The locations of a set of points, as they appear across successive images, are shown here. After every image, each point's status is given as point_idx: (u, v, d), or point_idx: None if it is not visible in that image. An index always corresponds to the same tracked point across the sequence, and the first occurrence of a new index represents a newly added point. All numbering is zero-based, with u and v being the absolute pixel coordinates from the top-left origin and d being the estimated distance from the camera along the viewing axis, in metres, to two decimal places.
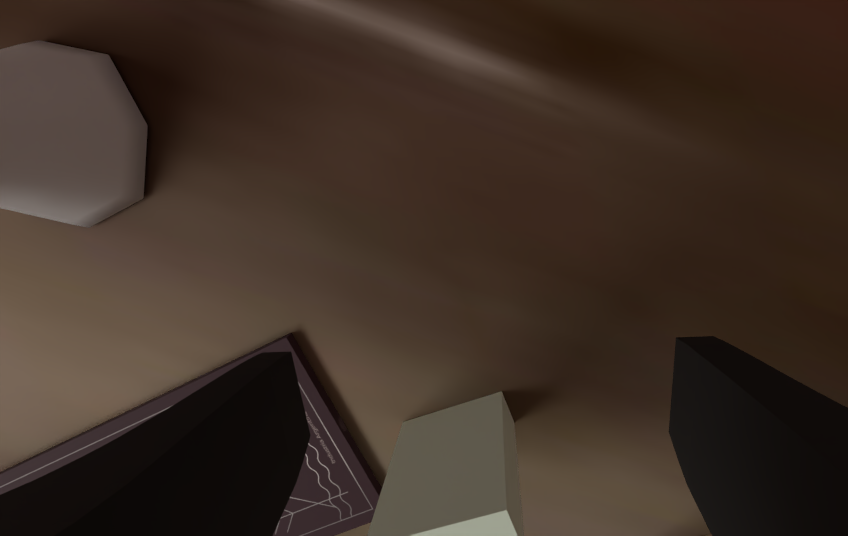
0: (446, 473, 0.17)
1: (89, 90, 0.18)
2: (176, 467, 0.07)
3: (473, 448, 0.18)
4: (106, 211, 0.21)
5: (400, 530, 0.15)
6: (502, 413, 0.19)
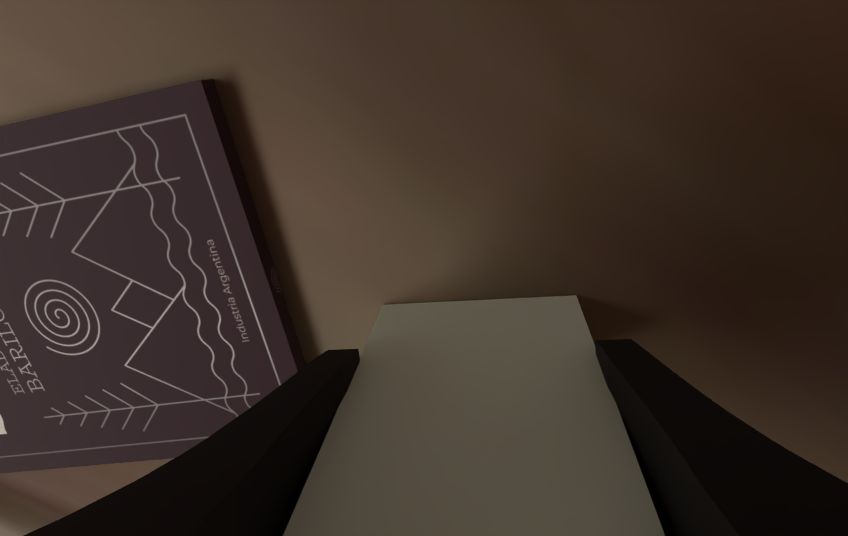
0: (484, 432, 0.08)
1: None
2: (273, 467, 0.06)
3: (540, 391, 0.08)
4: None
5: None
6: (589, 334, 0.10)
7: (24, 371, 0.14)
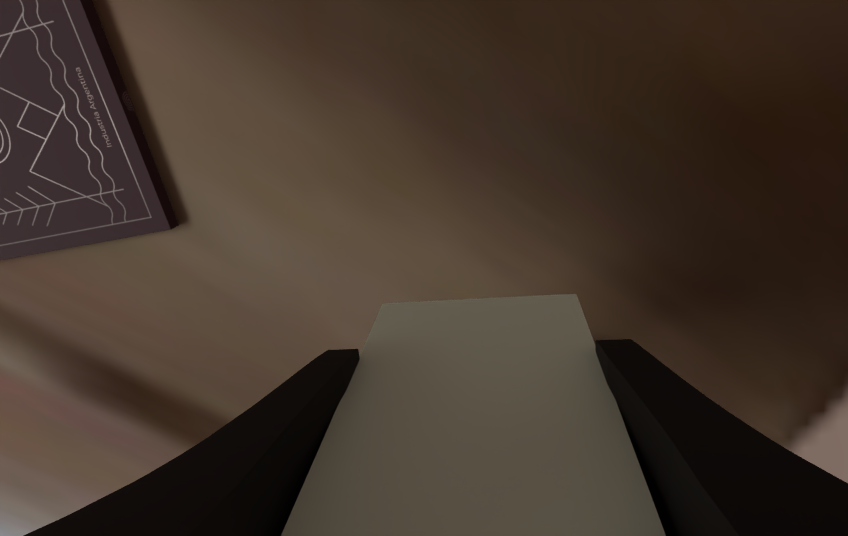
0: (484, 430, 0.08)
1: None
2: (273, 467, 0.06)
3: (540, 389, 0.08)
4: None
5: None
6: (589, 332, 0.10)
7: None
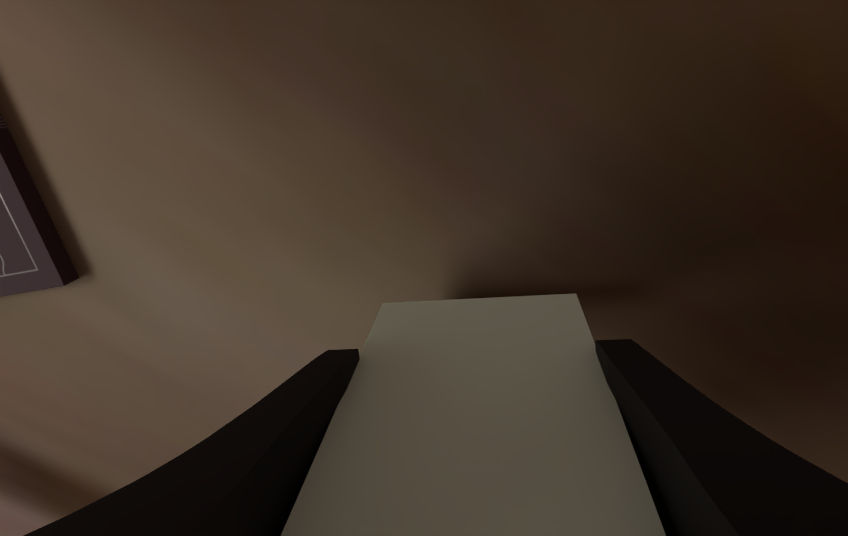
0: (484, 430, 0.08)
1: None
2: (273, 467, 0.06)
3: (540, 388, 0.08)
4: None
5: None
6: (589, 332, 0.10)
7: None
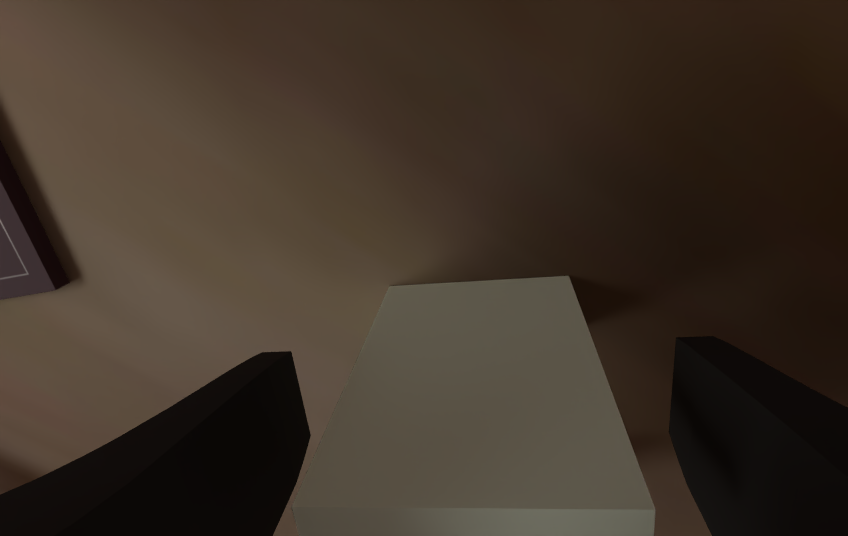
0: (483, 389, 0.08)
1: None
2: (176, 467, 0.07)
3: (534, 354, 0.09)
4: None
5: (383, 487, 0.07)
6: (579, 308, 0.11)
7: None
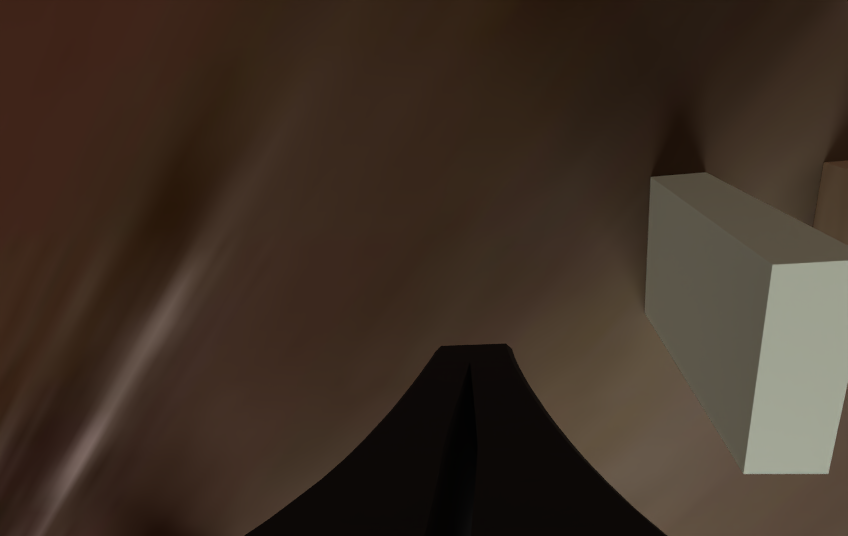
0: (705, 307, 0.12)
1: None
2: (445, 467, 0.06)
3: (692, 254, 0.12)
4: None
5: (742, 415, 0.10)
6: (671, 190, 0.13)
7: None
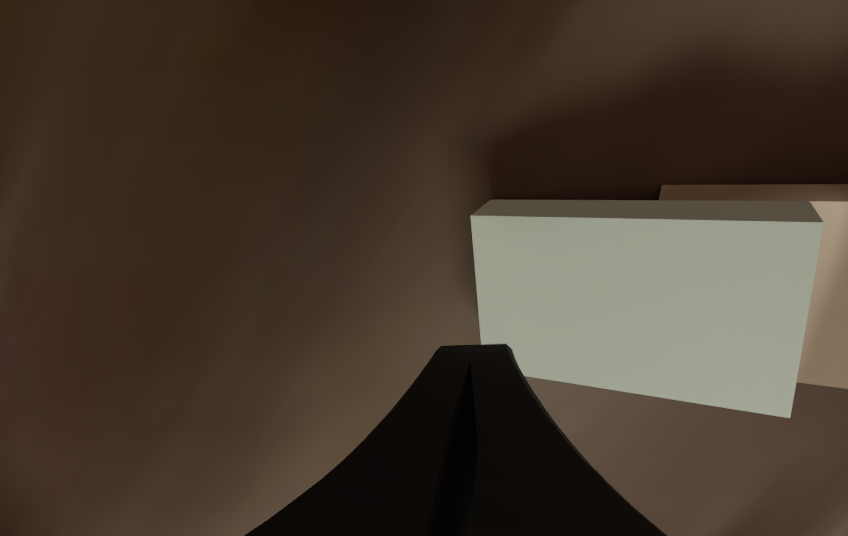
0: (669, 306, 0.11)
1: None
2: (445, 467, 0.06)
3: (623, 265, 0.11)
4: None
5: (779, 370, 0.11)
6: (540, 216, 0.12)
7: None
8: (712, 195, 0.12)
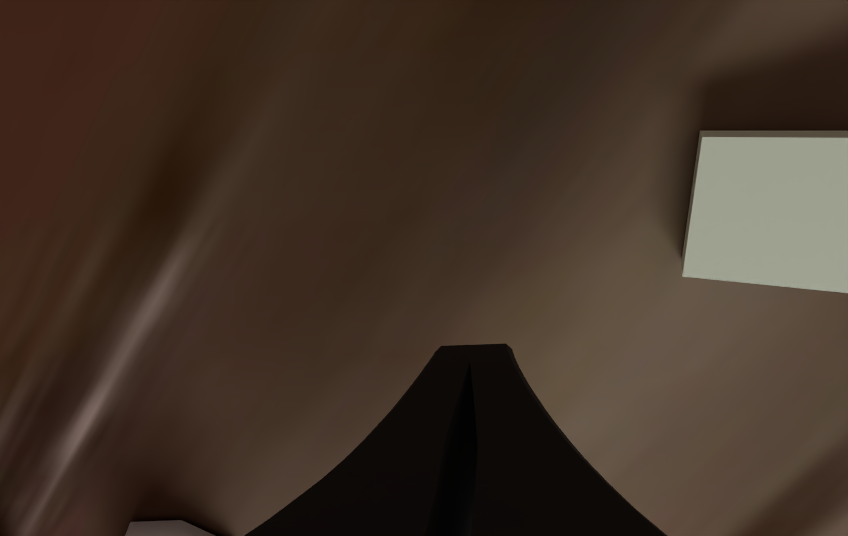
0: None
1: None
2: (445, 467, 0.06)
3: (843, 178, 0.14)
4: None
5: None
6: (770, 137, 0.14)
7: None
8: None
